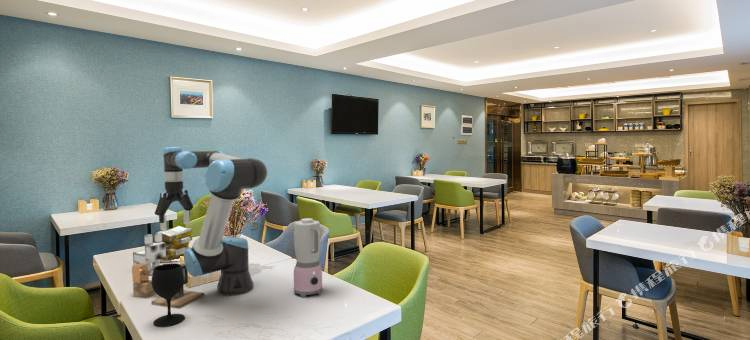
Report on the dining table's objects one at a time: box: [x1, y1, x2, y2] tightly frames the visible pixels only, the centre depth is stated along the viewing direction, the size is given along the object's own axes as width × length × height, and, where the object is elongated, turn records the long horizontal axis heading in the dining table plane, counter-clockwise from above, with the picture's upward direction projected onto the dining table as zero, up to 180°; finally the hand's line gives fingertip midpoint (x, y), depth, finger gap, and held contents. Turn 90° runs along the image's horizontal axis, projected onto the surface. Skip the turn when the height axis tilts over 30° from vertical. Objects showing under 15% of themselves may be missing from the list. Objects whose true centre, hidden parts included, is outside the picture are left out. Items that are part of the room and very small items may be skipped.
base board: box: [151, 289, 206, 309], centre depth 164 cm, size 14×14×1 cm
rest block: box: [132, 279, 157, 299], centre depth 170 cm, size 7×5×6 cm
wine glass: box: [151, 262, 186, 328], centre depth 144 cm, size 10×10×20 cm
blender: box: [293, 217, 323, 298], centre depth 170 cm, size 16×12×32 cm
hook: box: [131, 263, 153, 283], centre depth 168 cm, size 19×4×7 cm, turn 73°
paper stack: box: [158, 225, 193, 263], centre depth 229 cm, size 25×25×17 cm
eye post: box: [174, 263, 189, 299], centre depth 164 cm, size 2×8×13 cm, turn 163°
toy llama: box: [132, 231, 166, 270], centre depth 202 cm, size 8×18×20 cm, turn 63°
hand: (175, 227), depth 182 cm, fingers open, 13 cm apart
